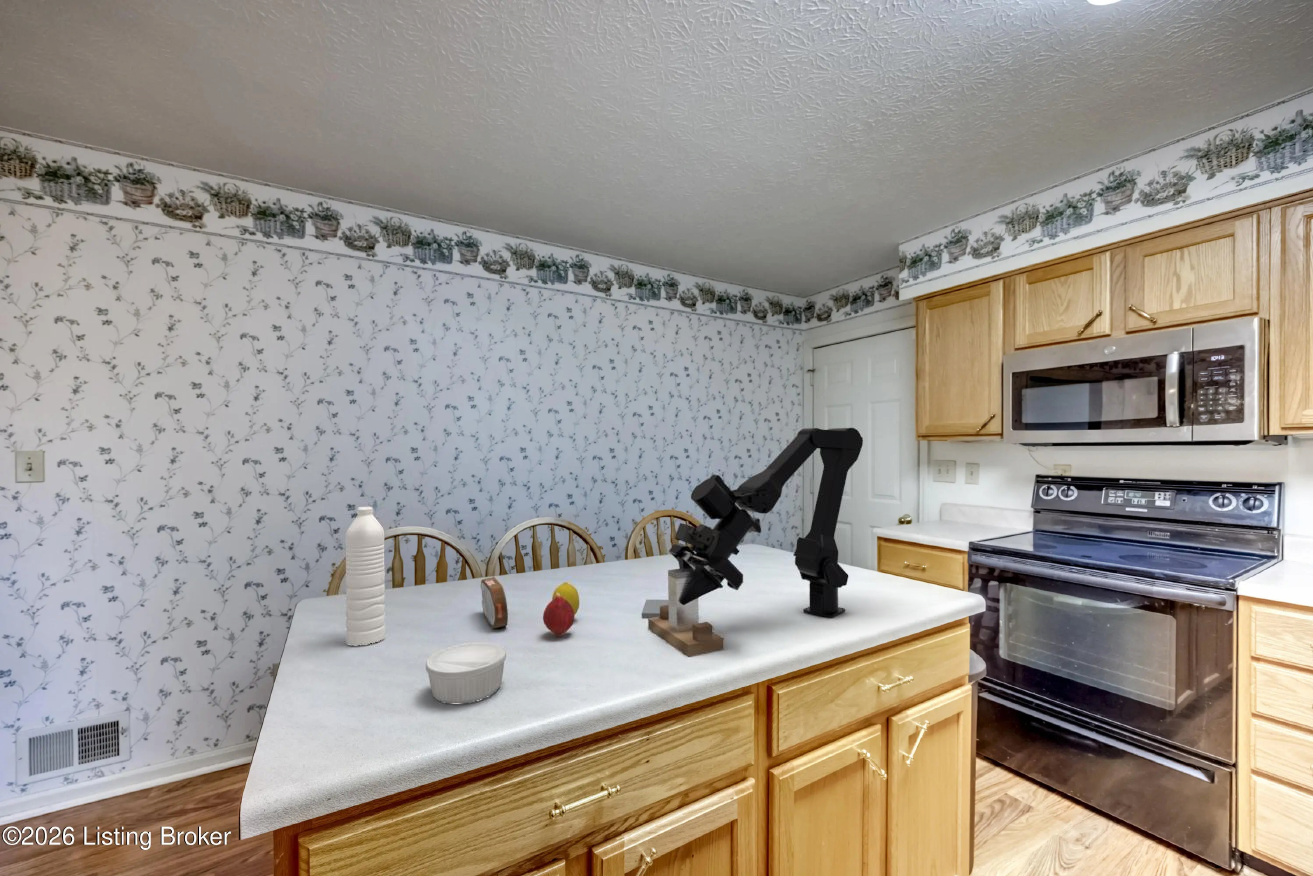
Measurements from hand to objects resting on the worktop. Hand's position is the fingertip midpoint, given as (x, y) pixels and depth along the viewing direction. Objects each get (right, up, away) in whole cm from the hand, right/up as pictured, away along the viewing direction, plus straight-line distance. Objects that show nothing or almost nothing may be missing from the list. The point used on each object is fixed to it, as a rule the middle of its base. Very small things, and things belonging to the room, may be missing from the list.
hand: (676, 601), depth 102 cm
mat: (-1, -7, +18) cm, 19 cm away
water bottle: (-57, -8, +1) cm, 58 cm away
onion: (-22, -8, +3) cm, 24 cm away
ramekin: (-32, -8, -20) cm, 38 cm away
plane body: (+1, -7, +1) cm, 7 cm away
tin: (-37, -8, +12) cm, 40 cm away
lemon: (-22, -8, +12) cm, 26 cm away
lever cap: (+1, -5, +1) cm, 5 cm away
